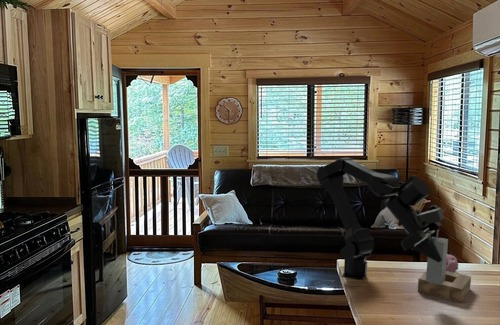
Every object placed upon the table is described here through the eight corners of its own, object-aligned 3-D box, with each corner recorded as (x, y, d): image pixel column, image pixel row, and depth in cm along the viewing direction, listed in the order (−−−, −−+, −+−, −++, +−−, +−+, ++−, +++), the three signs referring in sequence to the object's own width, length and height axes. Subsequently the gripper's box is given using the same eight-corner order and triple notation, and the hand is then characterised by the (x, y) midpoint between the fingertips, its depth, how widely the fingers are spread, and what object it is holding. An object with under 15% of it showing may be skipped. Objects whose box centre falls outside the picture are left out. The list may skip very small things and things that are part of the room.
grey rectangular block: (425, 281, 123) (428, 239, 121) (430, 276, 126) (433, 236, 124) (440, 284, 120) (444, 242, 119) (444, 280, 123) (448, 239, 122)
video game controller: (451, 282, 143) (463, 264, 142) (438, 275, 144) (450, 257, 142) (444, 271, 153) (455, 254, 151) (432, 264, 153) (443, 248, 152)
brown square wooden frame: (417, 291, 132) (418, 278, 132) (429, 279, 142) (430, 267, 141) (460, 302, 125) (461, 289, 124) (470, 289, 134) (471, 276, 134)
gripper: (415, 202, 115) (457, 252, 110) (436, 192, 130) (474, 235, 124) (384, 226, 121) (423, 274, 116) (407, 213, 135) (442, 256, 130)
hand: (442, 259), depth 121 cm, fingers closed on grey rectangular block, 4 cm apart
